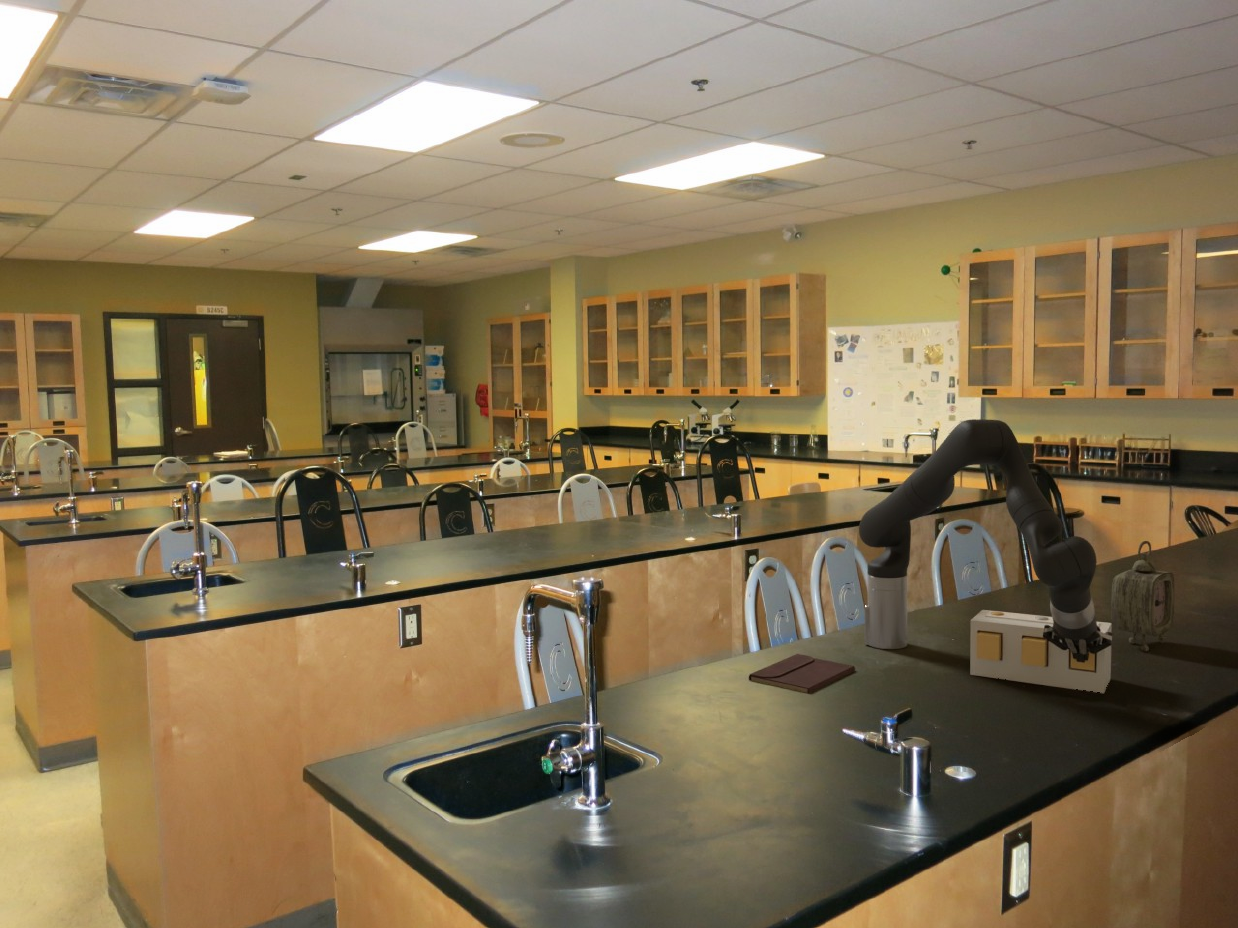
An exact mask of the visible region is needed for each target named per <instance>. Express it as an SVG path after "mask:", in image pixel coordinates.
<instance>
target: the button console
mask: <svg viewBox="0 0 1238 928" xmlns="http://www.w3.org/2000/svg"><path fill="white" fill-rule="evenodd" d="M1053 623H1054V622H1053V618H1052V616H1047V615H1046V616H1045V615H1038V614H1027V613H1018V612H1017V613H1016V612H1007V611H999V610H990V609H988V610H987V609H982V610H980V611H979V612H978V613H977V614H976V615H975V616H974V617H972V618H971V619H970V636H969V637H970V640H969V641H970V649H969V650H970V652H969V654H970V655H969V657H970V661H969V663H970V667H969V668H970V670H969V672H970V674H969V675H970V676H975V677H976V676H979V677H984V678H992V679H998V678H999V680H1005V679H1006V680H1007V681H1011V682H1012V681H1013V682H1021V683H1026V684H1034V685H1040V686H1041V685H1043V686H1048V687H1056V688H1063V689H1069V690H1076V689H1078V690H1077V691H1083V690H1086V691H1085V692H1090V691H1093V692H1092V693H1097V692H1100V693H1099V694H1105V692H1106V689H1107V688H1108V686H1109V684H1108V683H1110V681H1111V677H1112V673H1111V672H1112V670H1111V669H1112V645H1111V646H1109V647H1107V648H1105V649H1103V650H1101V651H1099V652H1098V653H1097V660H1096V669H1095V671H1092V670H1085V669H1077V668H1071V651H1070V650H1069V649H1067V650H1062V649H1060V648H1059V647H1057V646H1056V645H1054V644H1053V643H1051V642H1050V641H1048V640H1047V664H1046V666H1045V667H1041V666H1033V665H1025V664H1022V639H1023V638H1024V637H1025V636H1027V637H1036V638H1044V637H1043V630H1044V626H1045V625H1049V626H1051V627H1052V626H1053ZM1096 623H1097V626H1098V627H1099V628H1100V630H1101V632H1103V633H1106V632H1111V633H1112V629H1113V628H1112V627H1113V625H1112V622H1106V621H1105V622H1103V621H1096ZM980 631H984V632H993V633H1001V634H1002V658H1001V659H1000V660H999V661H995V660H987V659H979V658H977V634H978V633H979V632H980ZM1044 639H1045V638H1044ZM1060 642H1061V643H1062V640H1060ZM1006 680H1005V681H1006ZM1107 685H1108V686H1107ZM1106 687H1107V688H1106Z"/></svg>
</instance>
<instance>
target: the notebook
mask: <svg viewBox="0 0 1238 928" xmlns="http://www.w3.org/2000/svg"><path fill="white" fill-rule="evenodd" d="M854 672H856V667H855V665H851V664H847V663H841V662H836V661H832V660H825V659H820V658H815V657H812V656H810V655H806V654H800V653H796V654H793V655H791V656H789V657H787V658H784V659H782V660H780V661H778V662H775V663H773V664H770V665H767V666H766V667H763V668H761V669H759V670H757V671H754V672H751V673H749V675H748V680H749V681H752V682H756V683H760V684H765V685H771V686H774V687H779V688H783V689H784V688H785V689H789V690H792V691H797V692H801V693H806V694H812V693H814V692H815V691H817V690H820V689H822V688H824V687H826V686H827V685H830V684H832V683H834V682H835V681H838V680H840V679H841V678H844V677H846V676H848V675H850V674H852V673H854Z"/></svg>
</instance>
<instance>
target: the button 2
mask: <svg viewBox="0 0 1238 928" xmlns="http://www.w3.org/2000/svg"><path fill="white" fill-rule="evenodd" d="M1096 660H1097V653H1096V654H1092V653H1090V652H1089V658H1088V661H1086V660H1085V663H1083V662H1077V660H1076V659H1074V658H1073V656H1072V652H1071V668H1077V669H1085V670H1092V671H1095V669H1096Z"/></svg>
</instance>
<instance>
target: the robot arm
mask: <svg viewBox="0 0 1238 928" xmlns="http://www.w3.org/2000/svg"><path fill="white" fill-rule="evenodd" d="M1022 451H1023V450H1022V449H1021V447H1020V444H1019V442H1018V439H1017V437H1016V436H1015V434H1014V432H1013V430H1012V429H1011V427H1010V425H1008V424H1007V422H1004V421H1002V420H999V419H981V418H980V419H974V418H973V419H967V420H966V419H965V420H963V421H961V422H959V423H958V424H957V425H956V426H955V427H954V428H953V429H952V430H951V431H950V432H949V434H948V435H947V437H946V438H945V439H944V440H943V442H942V443H941V444H940V445H939V446H938V448H937V449H936V450H935V452H933V453H932V454H931V455H930V457H928V458H927V459H926V460H925V461H924V462H923V463H922V464H921V465H920V466H919V467H917V468H916V469H915V470H914V471H913V472H912V473H911V474H910V475H909V476H908V477H907V478H906V479H905V480H904V481H903V482H902V483H901V484H900V485H899V486H898V487H897V488H895V489H894V490H893V491H892V492H891V493H890V494H889V495H887V496H886V497H885V498H884V499H883V500H881V501H880V502H879V503H877V504H876V505H874V506H872V507H871V508H870V509H868V510H867V511H866V512H865V513H864V514H863V515H862V517H861V519H860V522H859V526H858V534H859V538H860V539H861V541H862V543H864V544H865V545H867V546H868V547H870V548H876V549H878V548H884V551H883V552H882V553H881V554H880V555H879V556H877V557H876V558H874V559H872V560H871V561H869V562H868V564H867V604H866V605H865V606H864V645H865V646H870V647H873V648H875V649H882V650H898V649H900V650H901V649H903V648H906V647H907V646H908V567H909V566H910V561H911V541H912V526H911V524H912V523H911V521H913V520H915V519H919V518H921V517H924V516H926V515H928V514H930V513H932V512H934V511H935V510H936V509H938V508H939V507H940V506H941V505H943V504H944V503H945V502H946V501H947V500H948V499H950V497H951V496H952V494H953V492H954V490H955V479H956V478H955V475H956V474H958V473H959V472H960V471H961V470H962V469H964V468H966V467H969V466H977V465H979V466H980V465H982V466H983V465H984V466H990V465H991V466H992V465H995V466H996V467H997V468H998V469H999V470H1000V471H1001V473H1002V475H1004V478H1005V479H1006V493H1005V494H1006V496H1005V502H1006V509H1007V511H1008V513H1009V516H1010V517H1011V519H1012V521H1013V523H1014V524H1015V525H1016V527H1017V528H1018V530H1019V531H1020V533H1021V535H1022V536H1023V538H1024V540H1025V542H1026V545H1027V547H1028V551H1029V555H1030V559H1031V564H1032V567H1033V571H1034V574H1035V575H1036V578H1037V579H1038V580H1039V581H1040V582H1041V583H1043V584H1044V585H1047V590H1048V594H1049V601H1050V602H1049V606H1050V609H1049V611H1050V614H1051V617H1052V618H1053V622H1054V623H1053V626H1052V627H1051V626H1049V625H1045V626H1044V630H1043V637H1044V638H1045V639H1047V640H1048V641H1050V642H1051V643H1053V644H1054V645H1056V646H1057V647H1059V648H1060V649H1062V650H1067V649H1069V650H1070V651H1071V652H1072V656H1073V658H1074V659H1076V660H1077V662H1083V663H1085V660H1086V661H1088V658H1089V652H1090V653H1092V654H1096V653H1098V652H1099V651H1101V650H1103V649H1105V648H1107V647H1109V646H1111V647H1112V642H1113V635H1114V634H1113V632H1112V631H1111V632H1106V633H1103V632H1101V630H1100V628H1099V627H1098V626H1097V623H1096V622H1097V618H1096V611H1095V604H1094V601H1093V597H1092V595H1091V585H1092V582H1093V579H1094V577H1095V573H1096V571H1097V570H1096V569H1097V555H1096V552H1095V549H1094V546H1092V543H1090V542H1089V541H1088V540H1087V539H1085V538H1084V537H1081V536H1076V535H1075V536H1069V537H1066V538H1063V539H1062V540H1059V541H1057V542H1054V543H1051V544H1049V543H1050V542H1051V541H1053V540H1054V539H1055V538H1057V537H1058V536H1059V535H1060V534H1061V533H1062V532H1061V531H1062V530H1063V524H1062V520H1061V518H1060V517H1059V516H1058V515H1057V513H1056V512H1055V510H1054V509H1053V507H1052V506H1051V504H1050V503H1049V501H1048V500H1047V499H1046V497H1045V496H1044V495H1043V493H1042V491H1041V489H1040V487H1039V486H1038V484H1037V483H1036V480H1035V478H1034V476H1033V474H1032V471H1031V469H1030V466H1029V465H1028V462H1027V459H1026V458H1025V456H1024V453H1023V452H1022ZM1048 544H1049V545H1048ZM1060 640H1062V643H1061V642H1060Z"/></svg>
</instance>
